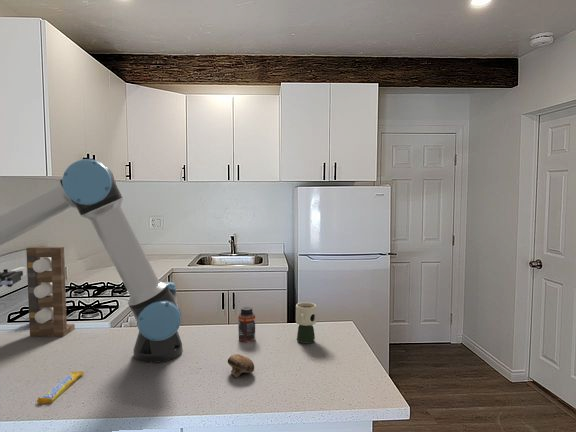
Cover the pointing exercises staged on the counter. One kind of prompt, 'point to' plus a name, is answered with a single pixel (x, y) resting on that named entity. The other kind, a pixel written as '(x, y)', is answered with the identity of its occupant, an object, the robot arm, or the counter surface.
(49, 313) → the bottom button
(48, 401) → the candy bar
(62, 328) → the switch panel
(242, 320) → the supplement bottle
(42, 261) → the top button
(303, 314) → the character mug
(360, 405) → the counter surface
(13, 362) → the counter surface
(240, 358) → the mushroom
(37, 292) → the middle button
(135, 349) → the robot arm
